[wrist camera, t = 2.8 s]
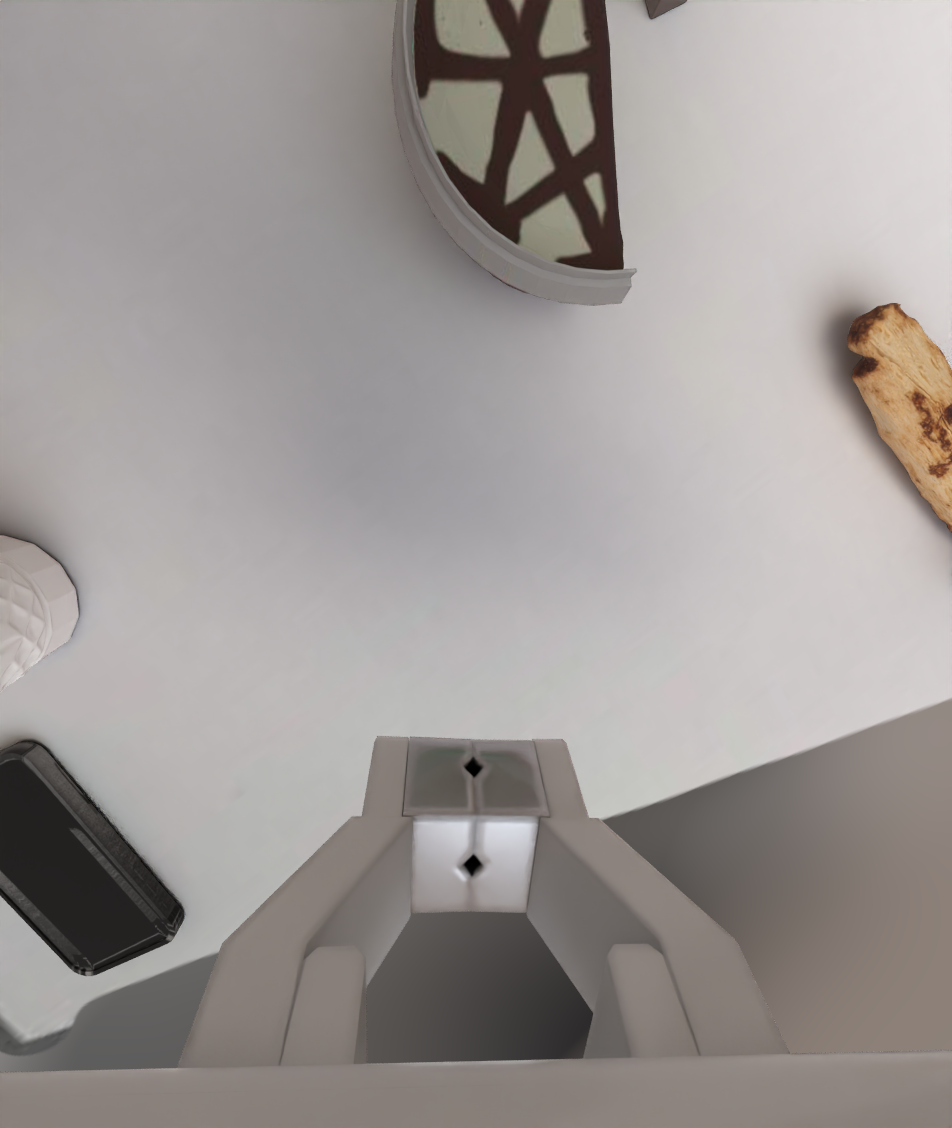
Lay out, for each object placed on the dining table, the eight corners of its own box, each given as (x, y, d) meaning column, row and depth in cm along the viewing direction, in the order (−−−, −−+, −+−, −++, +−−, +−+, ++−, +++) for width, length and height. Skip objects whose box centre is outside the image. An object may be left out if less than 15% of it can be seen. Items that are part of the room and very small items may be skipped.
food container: (394, 29, 23) (331, -241, 13) (547, -1, 22) (597, -300, 13) (445, 353, 26) (426, 327, 17) (579, 331, 26) (638, 291, 16)
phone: (82, 981, 36) (-90, 802, 32) (94, 963, 37) (-71, 789, 33) (184, 936, 34) (18, 746, 31) (193, 919, 36) (34, 734, 32)
